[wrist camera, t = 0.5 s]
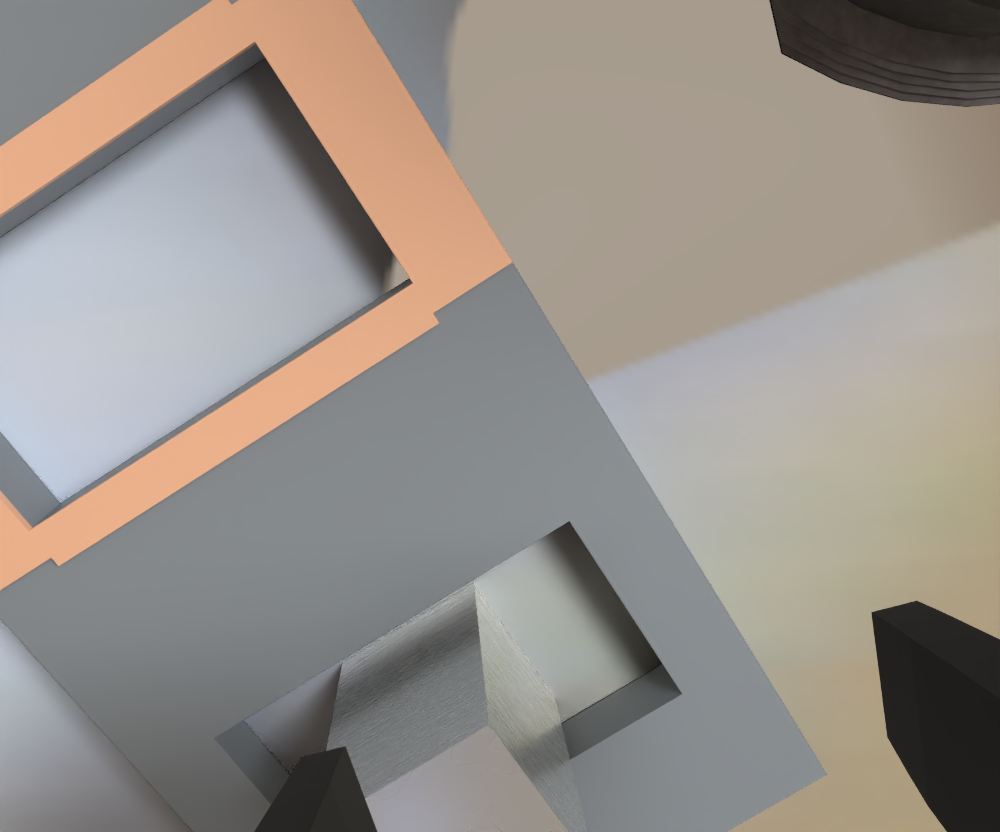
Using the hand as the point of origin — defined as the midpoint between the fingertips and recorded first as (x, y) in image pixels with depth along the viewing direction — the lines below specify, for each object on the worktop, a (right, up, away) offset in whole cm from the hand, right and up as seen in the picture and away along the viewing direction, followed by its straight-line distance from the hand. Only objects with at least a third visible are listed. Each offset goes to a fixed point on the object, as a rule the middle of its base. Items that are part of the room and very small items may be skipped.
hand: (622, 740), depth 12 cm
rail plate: (-6, +2, +9) cm, 12 cm away
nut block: (-3, -3, +11) cm, 12 cm away
